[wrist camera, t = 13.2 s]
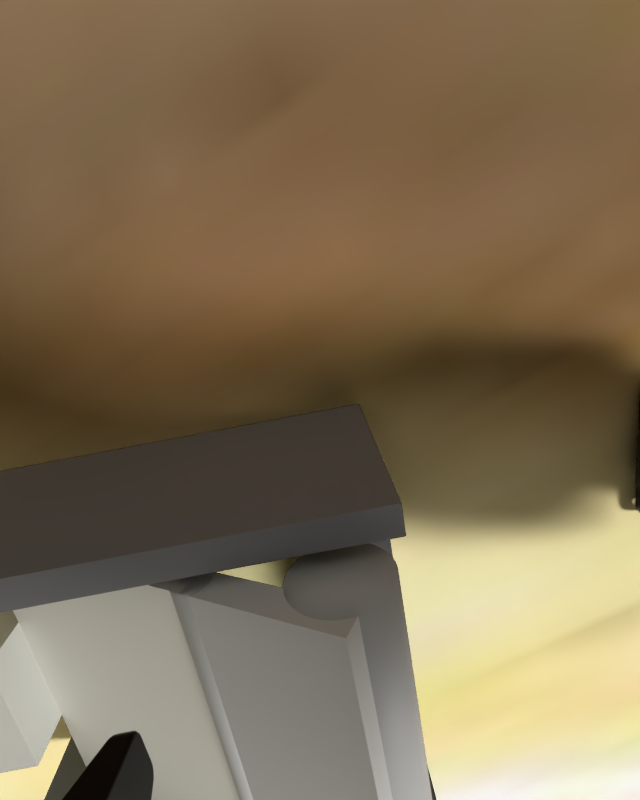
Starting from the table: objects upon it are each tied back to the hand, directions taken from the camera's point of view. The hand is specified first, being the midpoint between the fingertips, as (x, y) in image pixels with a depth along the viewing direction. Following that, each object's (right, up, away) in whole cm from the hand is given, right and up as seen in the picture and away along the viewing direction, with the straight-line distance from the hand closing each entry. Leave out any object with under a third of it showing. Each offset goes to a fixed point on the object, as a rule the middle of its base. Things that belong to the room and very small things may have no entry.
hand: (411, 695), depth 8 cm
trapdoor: (-5, -5, +11) cm, 13 cm away
